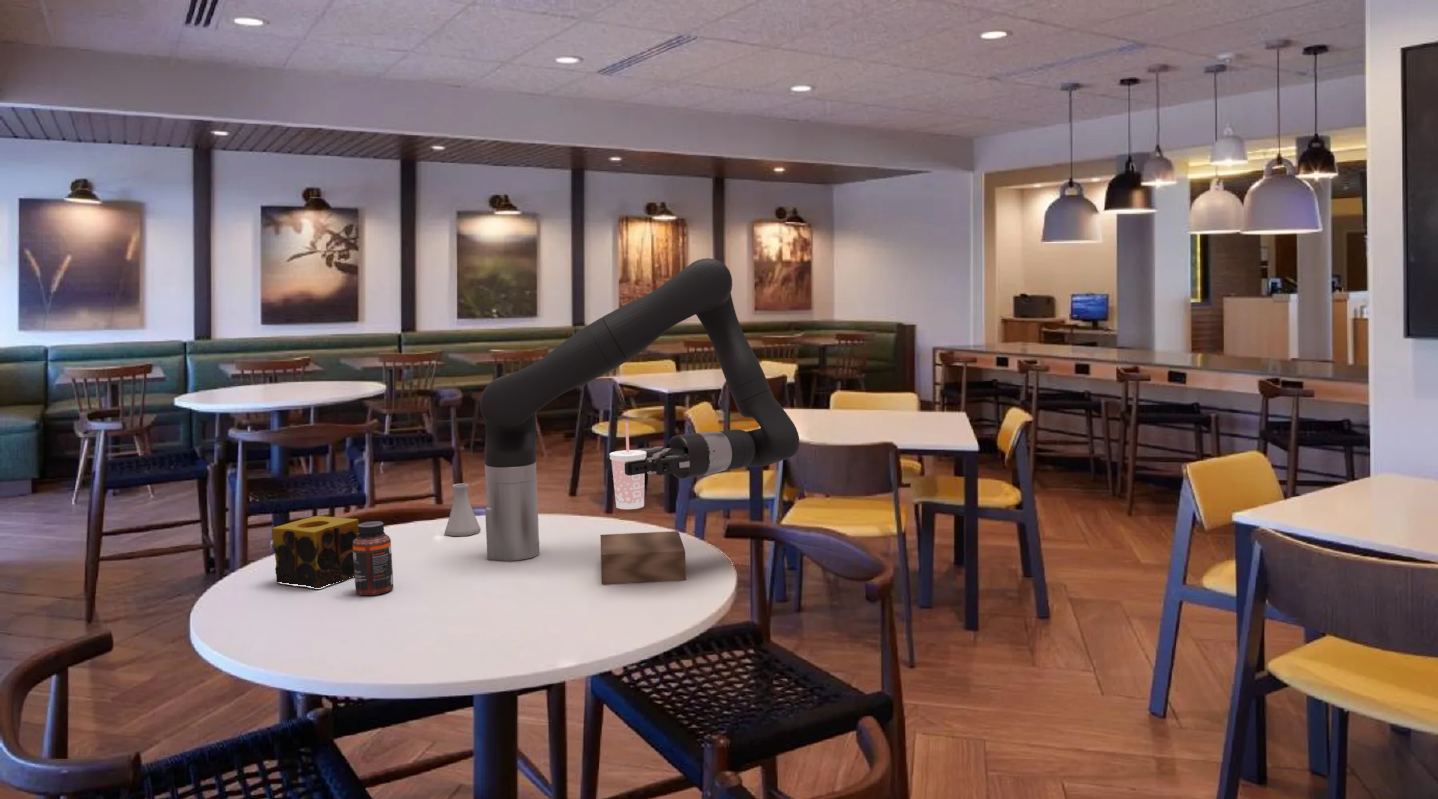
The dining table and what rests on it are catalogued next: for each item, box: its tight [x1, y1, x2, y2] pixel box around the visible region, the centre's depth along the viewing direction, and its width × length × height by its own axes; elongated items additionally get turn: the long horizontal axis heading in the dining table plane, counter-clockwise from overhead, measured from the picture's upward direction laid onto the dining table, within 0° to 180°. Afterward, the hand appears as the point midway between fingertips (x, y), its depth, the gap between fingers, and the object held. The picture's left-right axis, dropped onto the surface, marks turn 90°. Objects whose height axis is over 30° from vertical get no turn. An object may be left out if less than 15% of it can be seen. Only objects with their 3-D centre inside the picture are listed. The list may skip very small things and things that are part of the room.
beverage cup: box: [609, 422, 647, 510], centre depth 164 cm, size 6×6×14 cm
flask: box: [443, 482, 481, 537], centre depth 202 cm, size 7×7×10 cm
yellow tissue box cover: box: [271, 515, 360, 588], centre depth 170 cm, size 10×10×10 cm
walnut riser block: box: [599, 530, 687, 585], centre depth 171 cm, size 14×14×5 cm
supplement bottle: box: [353, 520, 394, 596], centre depth 162 cm, size 6×6×11 cm
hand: (615, 466), depth 162 cm, fingers closed on beverage cup, 6 cm apart
